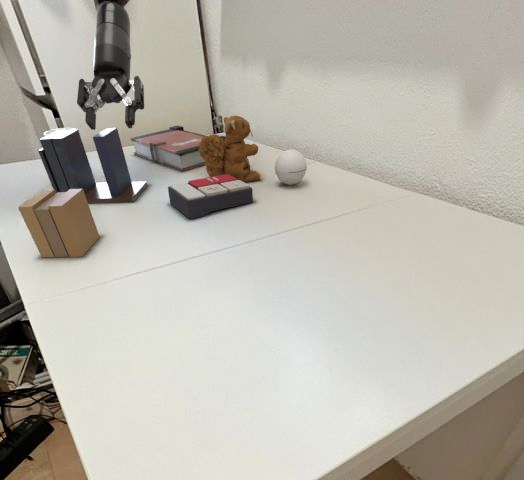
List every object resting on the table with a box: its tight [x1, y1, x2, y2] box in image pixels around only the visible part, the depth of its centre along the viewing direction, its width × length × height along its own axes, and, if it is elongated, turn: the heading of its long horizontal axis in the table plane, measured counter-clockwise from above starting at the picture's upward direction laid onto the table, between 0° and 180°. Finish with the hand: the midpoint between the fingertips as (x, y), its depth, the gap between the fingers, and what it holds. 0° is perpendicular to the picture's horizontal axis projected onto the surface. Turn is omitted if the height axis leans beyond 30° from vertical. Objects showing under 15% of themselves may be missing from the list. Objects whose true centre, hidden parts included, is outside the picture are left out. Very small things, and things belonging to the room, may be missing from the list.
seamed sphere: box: [274, 148, 315, 186], centre depth 88 cm, size 10×7×7 cm
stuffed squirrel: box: [197, 115, 261, 183], centre depth 91 cm, size 10×14×13 cm
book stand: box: [37, 129, 149, 204], centre depth 87 cm, size 19×11×13 cm, turn 86°
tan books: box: [17, 189, 101, 258], centre depth 67 cm, size 8×8×9 cm
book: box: [129, 125, 226, 173], centre depth 111 cm, size 26×18×5 cm
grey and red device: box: [167, 174, 254, 220], centre depth 82 cm, size 11×4×15 cm
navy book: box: [92, 127, 133, 196], centre depth 86 cm, size 2×8×12 cm, turn 176°
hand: (110, 126), depth 84 cm, fingers open, 8 cm apart
